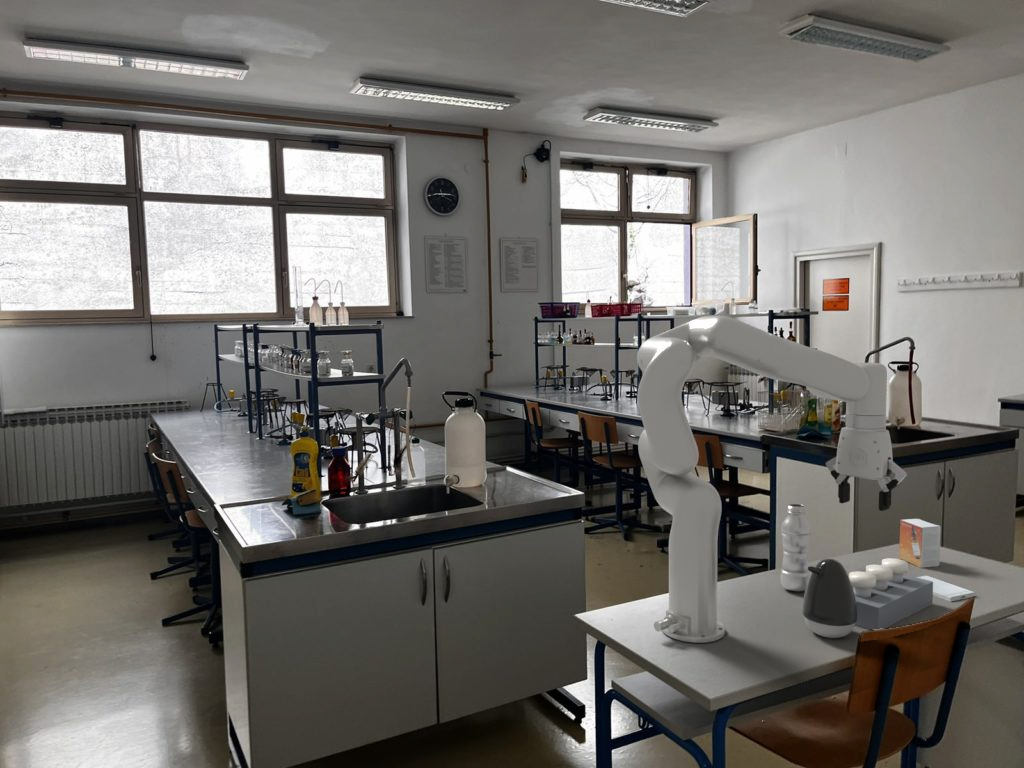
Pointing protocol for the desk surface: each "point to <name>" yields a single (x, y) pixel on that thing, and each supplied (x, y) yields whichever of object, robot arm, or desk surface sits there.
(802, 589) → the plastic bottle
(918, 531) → the small box
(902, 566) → the knob far
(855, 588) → the knob near
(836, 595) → the dark grey penguin figure
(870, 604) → the housing
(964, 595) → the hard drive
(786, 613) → the desk surface
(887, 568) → the knob mid
